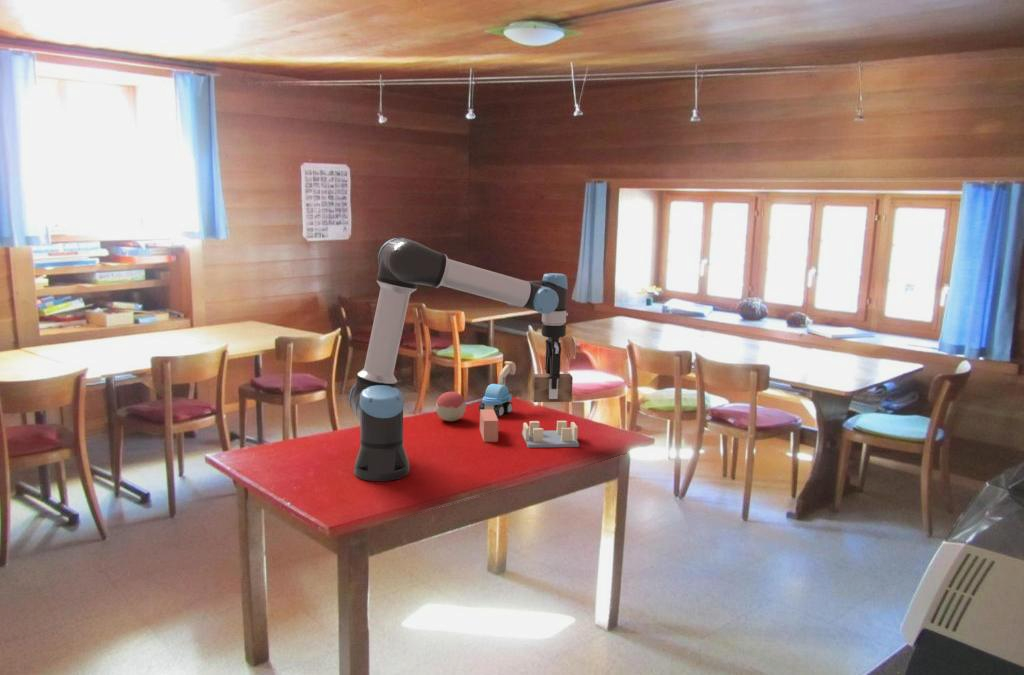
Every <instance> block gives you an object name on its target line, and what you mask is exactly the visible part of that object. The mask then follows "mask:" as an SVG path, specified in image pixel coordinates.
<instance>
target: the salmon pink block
mask: <svg viewBox="0 0 1024 675" xmlns="http://www.w3.org/2000/svg"><path fill="white" fill-rule="evenodd" d="M479 432H480V435H481V438H482V441H483V443H492V442H493V443H496V442H499V419H498V416H496V414H495V411H494V409H482V410H480V412H479Z"/></svg>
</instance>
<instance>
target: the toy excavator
mask: <svg viewBox="0 0 1024 675" xmlns="http://www.w3.org/2000/svg"><path fill="white" fill-rule="evenodd" d="M516 371H517V366H516V363H515V362H514V361H507V360H506V361H504V367H503V368H502V370H500V372H499V375H498V383H491V384H489V385H488V386H487V387H486V389H485V394H484V396H483V397H482V400H481V402H480V403H479V404H478V412H479V413H480V410H482V409H494V411H495V414H496V416H497V417H499V418H500V417H501V416H503V415H504V413H507V414H511V413H512V411H513V408H514V407H513V406H514V404H513V402H512V400H513V394H511V393H509V387H508V386H506V377H507V376H508V375H515V374H516Z"/></svg>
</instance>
